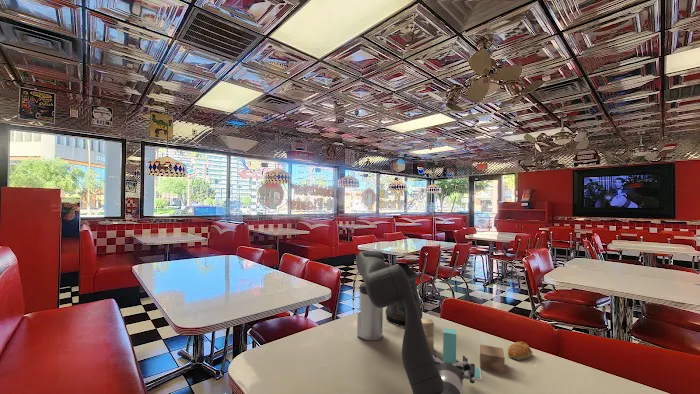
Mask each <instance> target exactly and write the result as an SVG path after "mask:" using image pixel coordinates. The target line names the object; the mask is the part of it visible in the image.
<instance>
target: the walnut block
mask: <svg viewBox="0 0 700 394" xmlns="http://www.w3.org/2000/svg"><path fill="white" fill-rule="evenodd" d="M505 361H506V360H505V354H504V348H503V347H498V346H493V345H492V346H491V345H486V344H479V368H480V369H481V370H486V371H490V372H494V373H500V374H505V363H506V362H505Z"/></svg>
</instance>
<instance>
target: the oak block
mask: <svg viewBox="0 0 700 394" xmlns="http://www.w3.org/2000/svg"><path fill="white" fill-rule="evenodd" d="M421 321H422V325H423V329H424V332H425V336H426V339H427V342H428V345H429V348H430V351H431V352H433V351H435V350H434V348H435V347H434V345H435V344H434V343H435V342H434V341H435V323H434V321H433V319H431V318H422V319H421Z"/></svg>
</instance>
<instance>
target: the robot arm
mask: <svg viewBox="0 0 700 394" xmlns="http://www.w3.org/2000/svg"><path fill="white" fill-rule="evenodd" d="M384 255H385V254H384V253H383V252H382V251H381V250H380V251H379V250H363V251H360V252H359V253H358V254H357V256H356V260H355V261H356V262H355V263H356V269H357V272H358V274H360V276H361V278H362V280H363V282H362V283H360V285H359V303H358V304H359V305H358V307H359V308H358V309H359V310H358V311H357V328H356V333H357V334H356V337H358V338H361V339H362V340H364V341H377V340H380V339H382V338H383V312H384V309H383V308H387V306H390V305H393V304H396V303H399V302H403V304H404V307H405V313H406V323H405V326H404V333H403V338H402V344H401V360H402V365H403V368H404V371H405V374H406V376H407V380H408V382H409V386H410V388H411V391H412V394H464V389H463V388H464V387H463V385H464V383H463V380H464V379H465V380H468V381H469V383H470V384H475V383H476V381H475V380H476V379H475V367H476V364H475V363H469V361H468V358H467V357H466V356H465V355H462V362H461V361H458V362H457V361H456V363H455V364H453V363H447V362H443V360H442V359H440V358H439V357H437V355H436V354H437V351H436V350H434V351H433V352H431V351H430V348H429V345H428V342H427V339H426V336H425V332H424V329H423V325H422V321H421V318H420V314H419V311H418V308H417V305H416V301H415V298H414V295H413V292H412V289H411V285H410V283H409V280H408V277H407V275H406V273H405V271H404V270H403V268H402V267H401V266H400V265H398V264H392V265H391V266H388V264H387V262H385V256H384ZM466 372H467V373H466Z"/></svg>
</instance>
